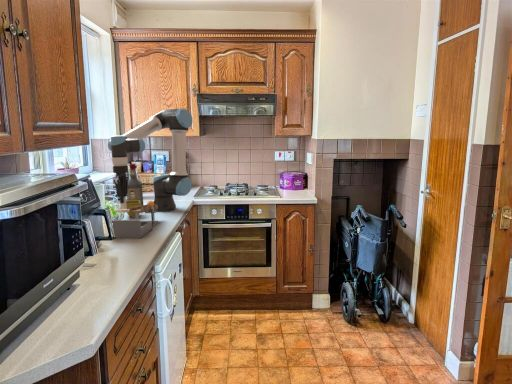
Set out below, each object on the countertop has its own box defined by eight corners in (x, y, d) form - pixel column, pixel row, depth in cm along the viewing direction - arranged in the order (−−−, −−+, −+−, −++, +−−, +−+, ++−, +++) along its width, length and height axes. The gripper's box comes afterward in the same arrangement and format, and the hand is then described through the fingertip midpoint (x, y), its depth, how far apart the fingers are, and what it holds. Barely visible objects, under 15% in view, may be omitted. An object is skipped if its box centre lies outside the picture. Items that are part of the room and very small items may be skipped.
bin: (124, 229, 192) (123, 213, 191) (152, 229, 191) (151, 213, 190) (111, 238, 178) (109, 220, 176) (141, 238, 176) (139, 220, 175)
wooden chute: (132, 212, 213) (131, 203, 213) (158, 212, 212) (158, 203, 212) (112, 216, 189) (112, 207, 189) (142, 216, 188) (142, 207, 188)
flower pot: (126, 215, 225) (124, 201, 223) (140, 213, 228) (139, 199, 226) (126, 218, 217) (125, 203, 215) (141, 216, 220) (140, 202, 218)
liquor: (130, 207, 247) (127, 163, 242) (144, 206, 248) (141, 163, 243) (126, 210, 238) (123, 164, 233) (141, 209, 239) (137, 164, 234)
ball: (150, 206, 212) (150, 200, 212) (155, 207, 211) (155, 200, 210) (145, 207, 209) (145, 200, 208) (151, 208, 207) (150, 201, 207)
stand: (137, 222, 206) (136, 206, 204) (158, 222, 205) (157, 206, 203) (132, 226, 198) (130, 209, 197) (153, 226, 197) (152, 209, 196)
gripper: (118, 163, 197) (122, 206, 201) (107, 166, 184) (111, 211, 188) (132, 163, 197) (135, 206, 201) (121, 166, 184) (125, 211, 188)
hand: (123, 208), depth 195 cm, fingers closed
